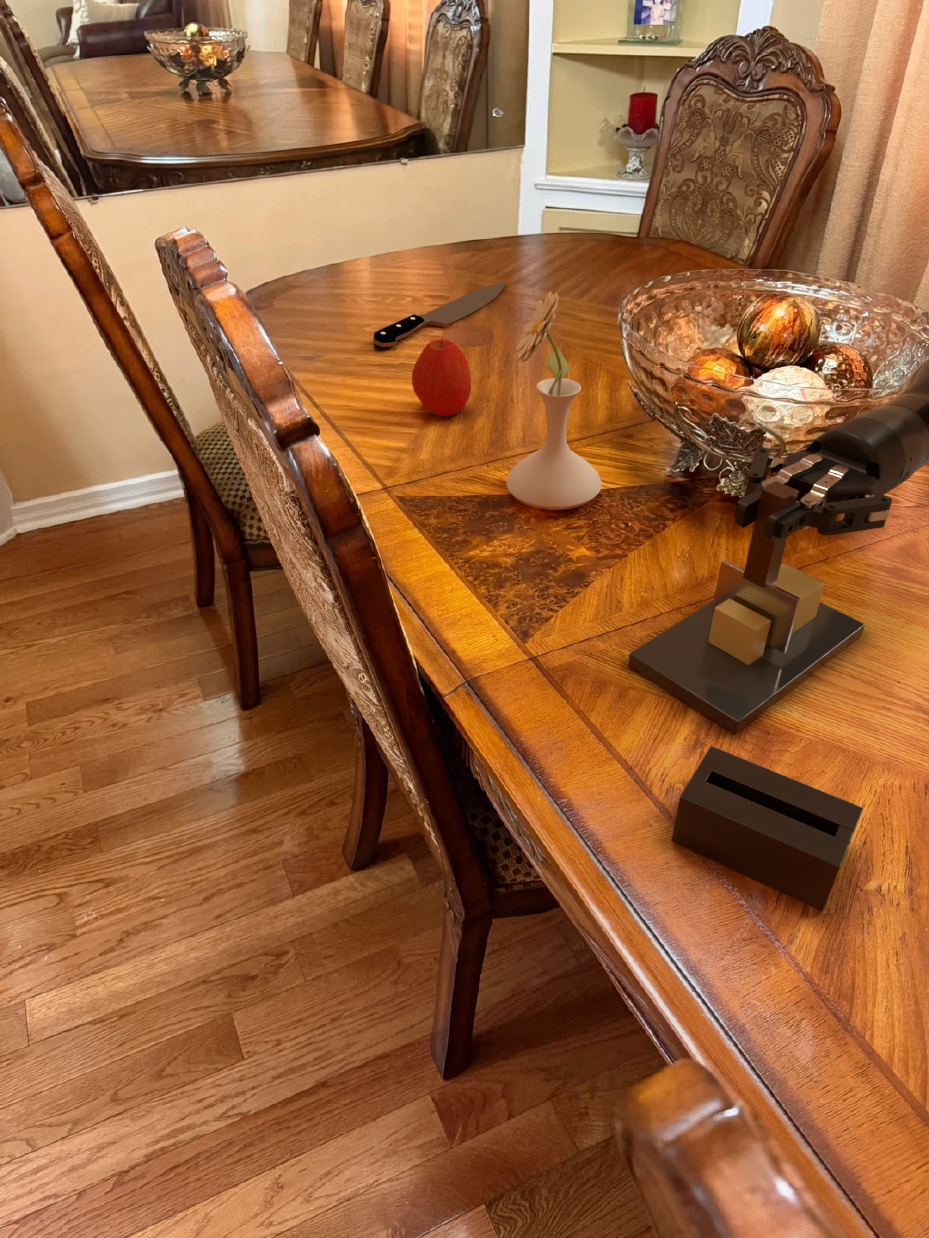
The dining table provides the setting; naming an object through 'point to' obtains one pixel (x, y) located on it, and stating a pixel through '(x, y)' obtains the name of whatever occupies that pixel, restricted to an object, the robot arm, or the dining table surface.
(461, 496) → the dining table surface
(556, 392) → the flower in vase
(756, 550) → the knife
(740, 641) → the block
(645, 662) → the board
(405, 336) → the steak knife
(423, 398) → the apple
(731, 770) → the knife stand
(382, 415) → the dining table surface
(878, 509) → the robot arm
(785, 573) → the butter block
